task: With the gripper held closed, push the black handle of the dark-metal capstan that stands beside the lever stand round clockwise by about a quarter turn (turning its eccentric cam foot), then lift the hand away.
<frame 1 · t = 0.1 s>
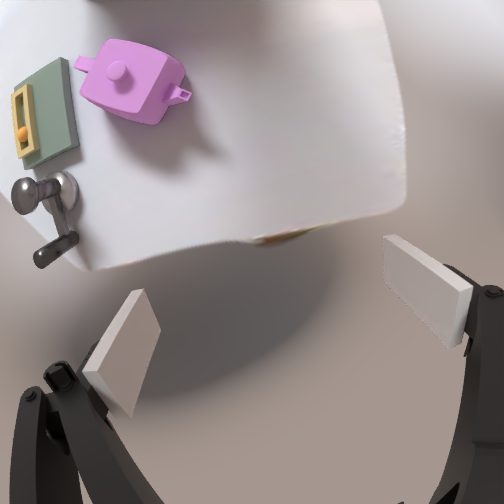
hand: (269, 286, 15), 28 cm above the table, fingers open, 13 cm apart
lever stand: (47, 113, 34), on the table
cam capstan: (48, 215, 34), point 6 cm above the table, hinge at 0.0°
teapot: (144, 87, 35), on the table
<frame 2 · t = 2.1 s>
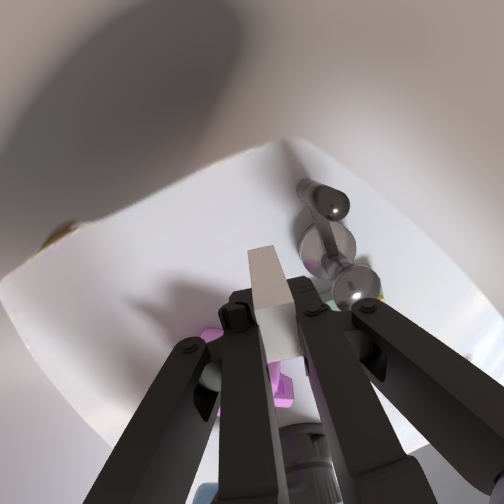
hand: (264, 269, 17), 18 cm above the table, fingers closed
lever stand: (349, 329, 40), on the table
cam capstan: (332, 241, 30), point 6 cm above the table, hinge at 0.0°
teapot: (230, 355, 41), on the table
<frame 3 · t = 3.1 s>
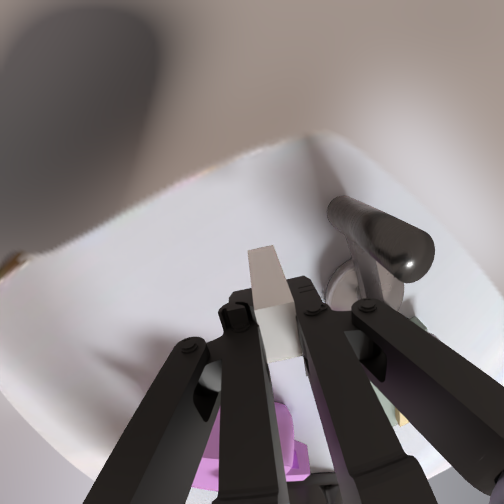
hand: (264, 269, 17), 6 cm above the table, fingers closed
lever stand: (378, 383, 29), on the table
cam capstan: (382, 294, 18), point 6 cm above the table, hinge at 0.0°
teapot: (229, 417, 30), on the table
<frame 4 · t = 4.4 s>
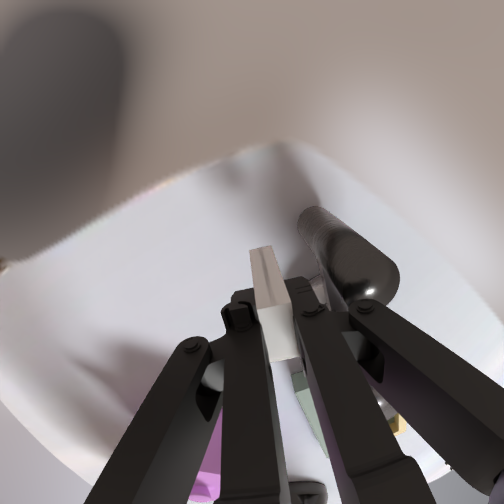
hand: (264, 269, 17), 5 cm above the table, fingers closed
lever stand: (354, 400, 28), on the table
cam capstan: (347, 316, 17), point 6 cm above the table, hinge at -4.1°, touching gripper
teapot: (201, 425, 29), on the table
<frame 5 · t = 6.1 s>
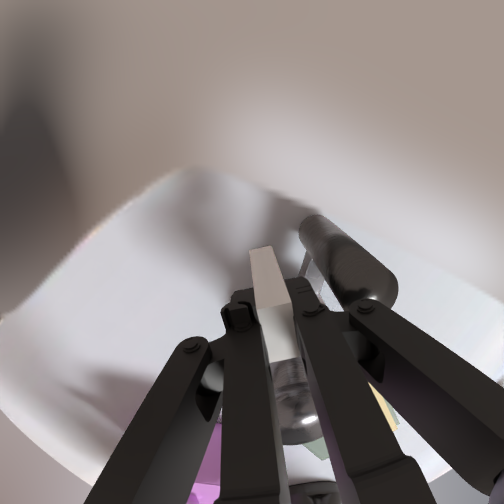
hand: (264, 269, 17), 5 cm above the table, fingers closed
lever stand: (335, 402, 28), on the table
cam capstan: (308, 327, 18), point 6 cm above the table, hinge at -45.6°, touching gripper
teapot: (192, 438, 30), on the table
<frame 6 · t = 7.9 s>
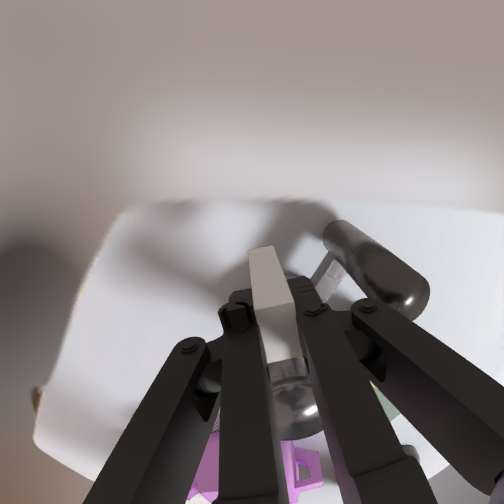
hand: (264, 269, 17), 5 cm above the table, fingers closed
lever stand: (366, 374, 27), on the table
cam capstan: (317, 324, 18), point 6 cm above the table, hinge at -82.4°
teapot: (245, 445, 31), on the table
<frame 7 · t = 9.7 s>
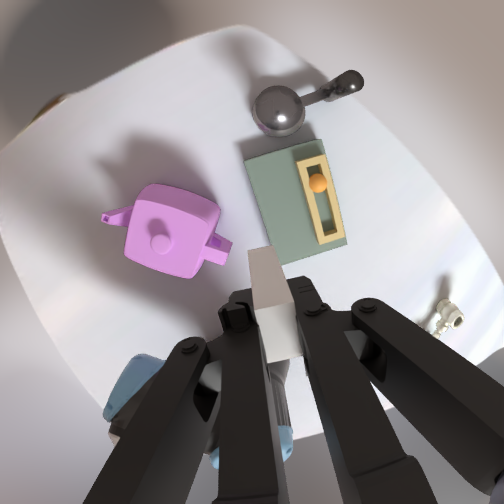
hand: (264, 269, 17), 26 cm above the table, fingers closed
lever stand: (296, 201, 42), on the table
valve: (432, 319, 52), on the table
cam capstan: (302, 100, 31), point 6 cm above the table, hinge at -82.4°
teapot: (175, 220, 42), on the table
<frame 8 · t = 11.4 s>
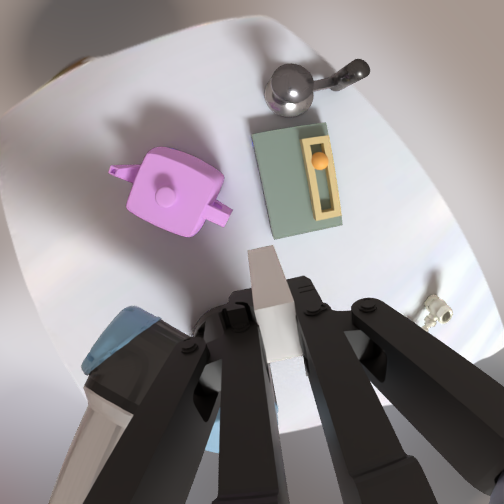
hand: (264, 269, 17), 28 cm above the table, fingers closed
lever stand: (297, 179, 43), on the table
valve: (420, 315, 54), on the table
cam capstan: (313, 83, 33), point 6 cm above the table, hinge at -82.4°
teapot: (178, 185, 43), on the table
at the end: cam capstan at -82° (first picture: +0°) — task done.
